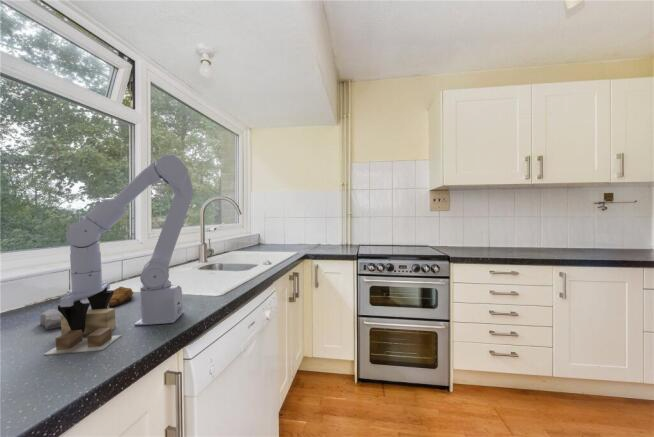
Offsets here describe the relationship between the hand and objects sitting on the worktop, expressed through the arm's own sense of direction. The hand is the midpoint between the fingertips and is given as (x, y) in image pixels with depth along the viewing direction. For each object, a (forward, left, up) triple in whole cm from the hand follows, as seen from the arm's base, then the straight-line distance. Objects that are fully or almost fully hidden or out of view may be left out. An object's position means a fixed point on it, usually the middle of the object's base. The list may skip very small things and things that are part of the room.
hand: (89, 326), depth 70 cm
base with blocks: (-4, +8, -1) cm, 9 cm away
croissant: (+6, -25, -2) cm, 26 cm away
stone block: (+9, -9, -2) cm, 13 cm away
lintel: (0, 0, -1) cm, 1 cm away
